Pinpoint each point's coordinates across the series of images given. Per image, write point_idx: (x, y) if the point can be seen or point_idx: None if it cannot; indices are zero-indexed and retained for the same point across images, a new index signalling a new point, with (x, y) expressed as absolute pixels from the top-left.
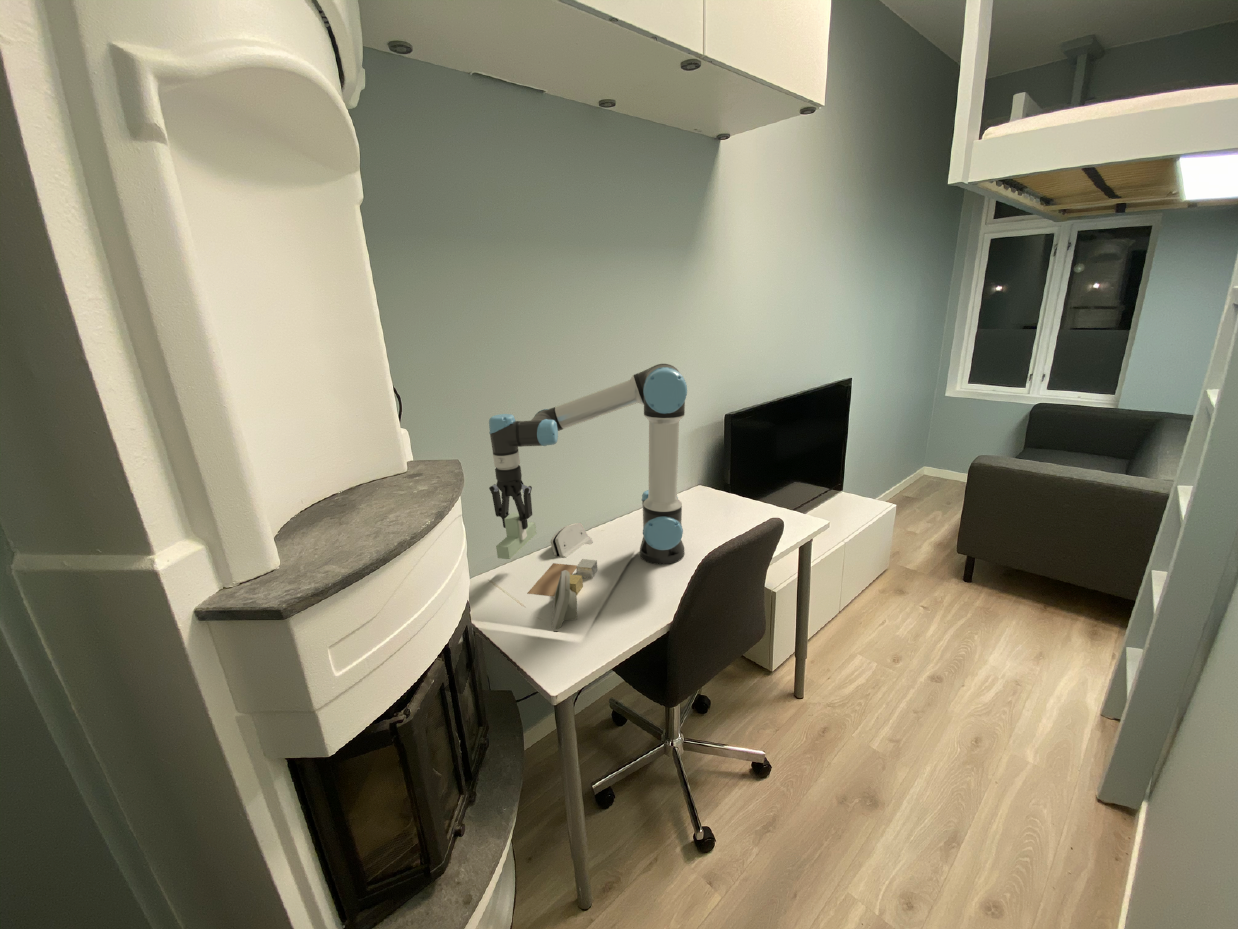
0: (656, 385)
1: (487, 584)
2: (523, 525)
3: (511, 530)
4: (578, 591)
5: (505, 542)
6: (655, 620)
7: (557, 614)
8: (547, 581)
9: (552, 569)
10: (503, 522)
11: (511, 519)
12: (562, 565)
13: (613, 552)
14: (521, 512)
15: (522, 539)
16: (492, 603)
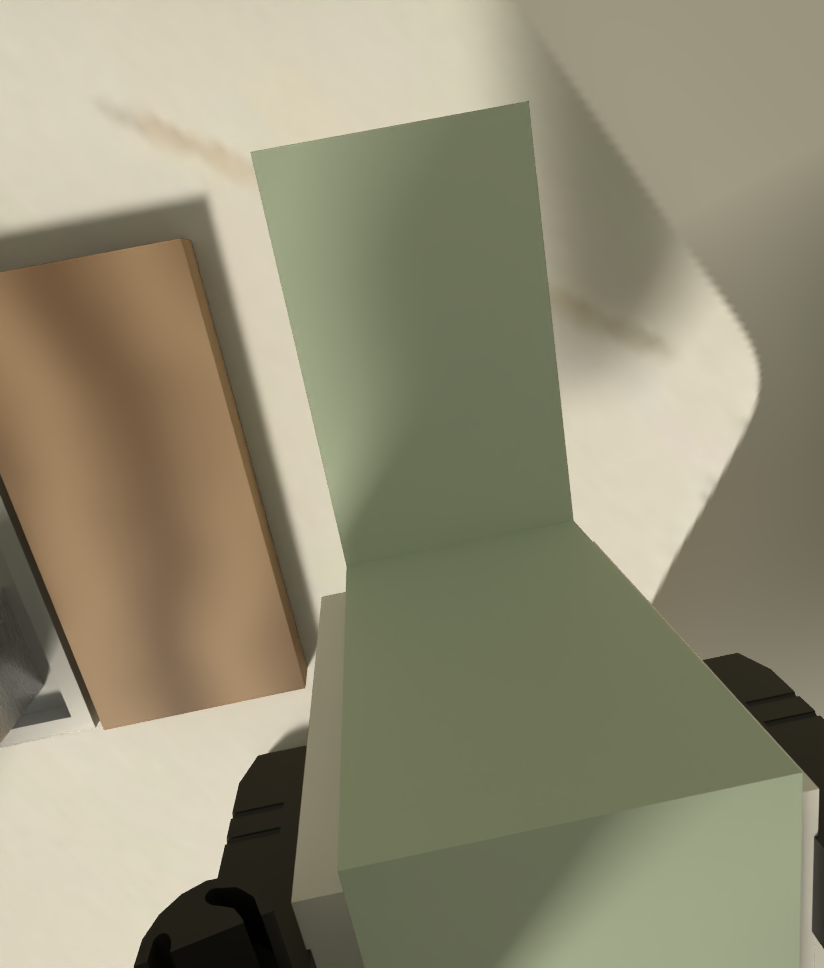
0: None
1: (629, 285)
2: (282, 818)
3: (493, 606)
4: None
5: (446, 317)
6: None
7: None
8: (155, 460)
9: (247, 617)
10: (813, 733)
11: (520, 827)
12: (217, 689)
13: (59, 952)
14: None
15: (328, 602)
16: (405, 46)
